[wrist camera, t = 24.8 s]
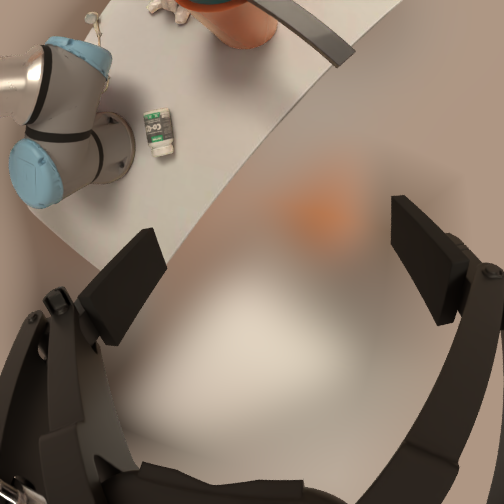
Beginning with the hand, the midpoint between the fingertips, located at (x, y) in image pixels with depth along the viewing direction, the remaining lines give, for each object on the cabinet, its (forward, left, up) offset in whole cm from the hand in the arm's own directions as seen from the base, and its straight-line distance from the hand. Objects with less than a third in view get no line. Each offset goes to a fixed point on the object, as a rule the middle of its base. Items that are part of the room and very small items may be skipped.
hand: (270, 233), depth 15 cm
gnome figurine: (-13, +33, -37) cm, 51 cm away
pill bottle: (-20, +12, -34) cm, 42 cm away
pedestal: (-2, +24, -37) cm, 44 cm away
